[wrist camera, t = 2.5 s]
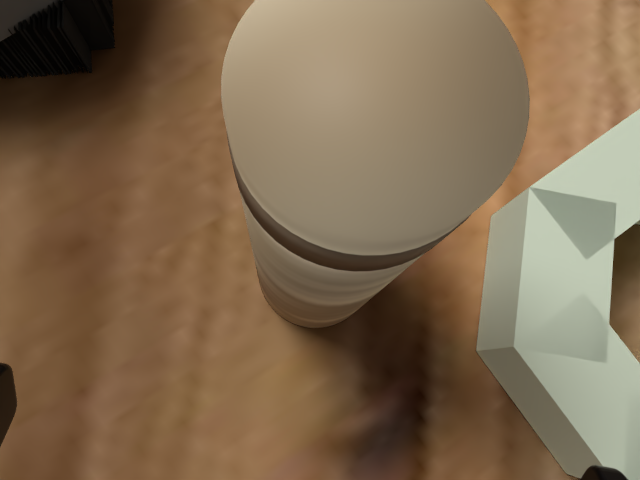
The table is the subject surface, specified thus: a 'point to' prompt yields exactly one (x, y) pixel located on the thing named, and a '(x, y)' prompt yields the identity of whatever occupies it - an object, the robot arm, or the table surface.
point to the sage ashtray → (567, 306)
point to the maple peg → (365, 138)
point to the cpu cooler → (52, 35)
